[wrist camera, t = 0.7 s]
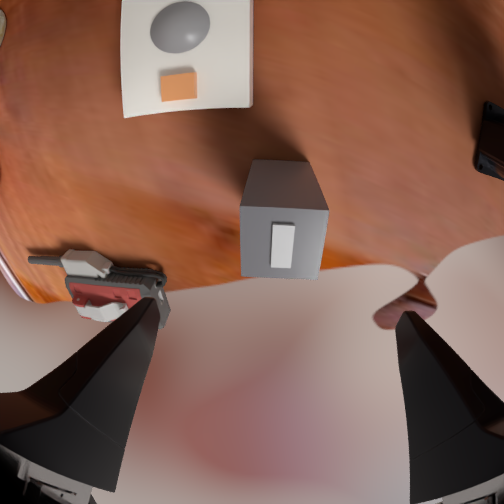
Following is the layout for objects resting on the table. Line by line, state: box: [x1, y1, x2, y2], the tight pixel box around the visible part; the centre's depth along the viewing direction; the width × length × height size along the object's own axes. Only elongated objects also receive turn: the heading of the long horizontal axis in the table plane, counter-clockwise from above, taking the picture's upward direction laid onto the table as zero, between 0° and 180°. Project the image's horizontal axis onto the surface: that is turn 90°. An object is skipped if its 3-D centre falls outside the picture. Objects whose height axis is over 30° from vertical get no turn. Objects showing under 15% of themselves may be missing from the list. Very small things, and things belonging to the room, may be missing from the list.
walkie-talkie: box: [28, 249, 171, 329], centre depth 26 cm, size 9×4×20 cm
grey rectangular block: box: [240, 159, 329, 280], centre depth 16 cm, size 4×4×8 cm
